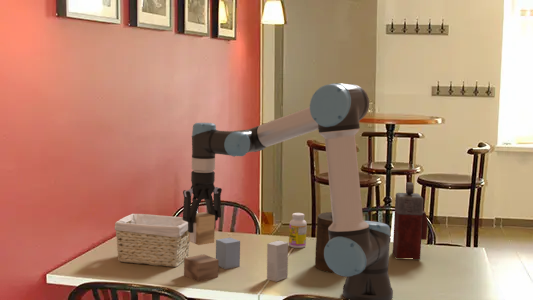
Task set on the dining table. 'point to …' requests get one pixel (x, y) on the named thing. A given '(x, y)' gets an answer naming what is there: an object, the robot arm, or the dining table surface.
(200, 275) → the base block
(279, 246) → the skincare box
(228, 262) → the blue block
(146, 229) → the storage basket
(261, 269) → the dining table surface
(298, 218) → the supplement bottle
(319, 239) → the wooden container
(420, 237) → the red square decanter
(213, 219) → the oak block
